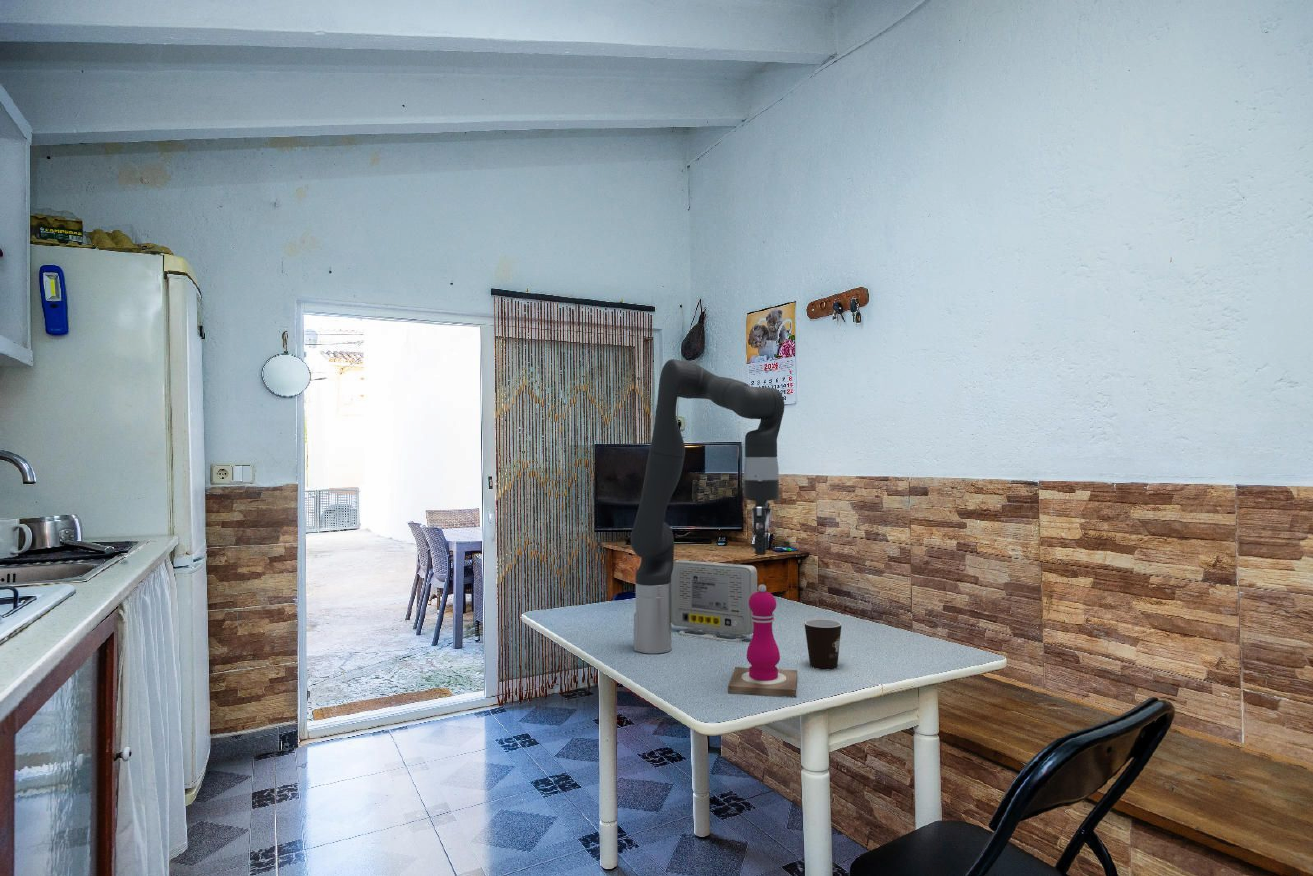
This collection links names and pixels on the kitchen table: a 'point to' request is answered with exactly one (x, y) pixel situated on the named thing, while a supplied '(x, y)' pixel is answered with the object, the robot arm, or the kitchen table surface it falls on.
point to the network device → (712, 598)
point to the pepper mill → (763, 637)
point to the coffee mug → (823, 642)
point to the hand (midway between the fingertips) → (762, 552)
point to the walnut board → (763, 683)
